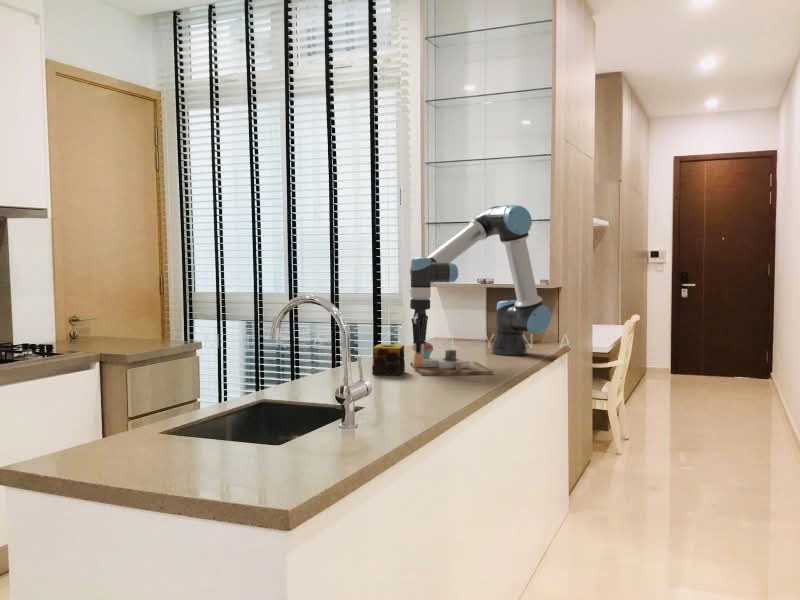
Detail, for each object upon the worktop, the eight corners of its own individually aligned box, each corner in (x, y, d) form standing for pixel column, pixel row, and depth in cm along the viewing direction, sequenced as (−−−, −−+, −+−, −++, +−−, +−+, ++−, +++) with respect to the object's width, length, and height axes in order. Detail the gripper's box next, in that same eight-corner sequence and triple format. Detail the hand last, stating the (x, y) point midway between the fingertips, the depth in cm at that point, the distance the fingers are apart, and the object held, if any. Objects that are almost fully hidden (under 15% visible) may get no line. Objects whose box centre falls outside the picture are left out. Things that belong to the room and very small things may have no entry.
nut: (461, 363, 276) (461, 351, 275) (468, 368, 265) (468, 355, 265) (410, 364, 272) (410, 351, 272) (416, 369, 262) (416, 355, 261)
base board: (476, 364, 283) (476, 346, 282) (492, 374, 261) (493, 354, 260) (410, 365, 278) (410, 346, 278) (422, 375, 257) (422, 355, 256)
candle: (399, 376, 255) (400, 348, 254) (371, 375, 257) (372, 347, 256) (405, 371, 265) (405, 344, 264) (378, 370, 267) (378, 343, 266)
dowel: (460, 370, 262) (461, 361, 262) (462, 371, 260) (462, 362, 260) (455, 370, 262) (455, 362, 261) (456, 371, 260) (457, 362, 259)
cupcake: (433, 360, 291) (433, 331, 290) (412, 360, 291) (412, 330, 290) (432, 357, 299) (433, 328, 299) (412, 357, 300) (412, 328, 299)
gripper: (416, 297, 279) (415, 357, 281) (405, 299, 267) (404, 362, 269) (435, 297, 277) (433, 359, 279) (424, 300, 265) (423, 364, 266)
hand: (419, 360), depth 274 cm, fingers closed
